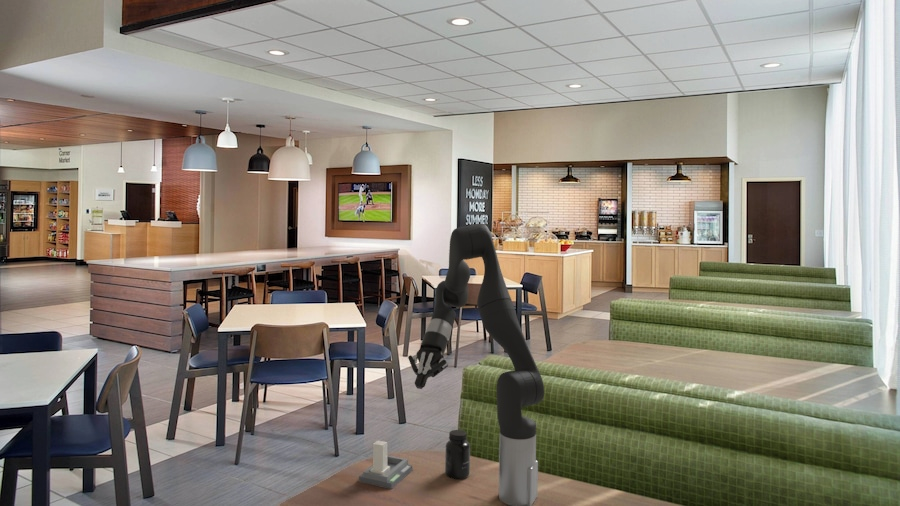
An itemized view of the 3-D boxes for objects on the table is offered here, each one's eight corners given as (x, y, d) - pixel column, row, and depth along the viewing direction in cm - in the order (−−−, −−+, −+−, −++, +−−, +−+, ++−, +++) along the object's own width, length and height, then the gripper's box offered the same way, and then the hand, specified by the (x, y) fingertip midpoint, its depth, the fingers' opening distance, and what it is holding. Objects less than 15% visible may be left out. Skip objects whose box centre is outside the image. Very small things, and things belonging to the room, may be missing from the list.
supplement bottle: (470, 480, 166) (470, 437, 164) (444, 480, 166) (445, 437, 165) (469, 469, 172) (470, 428, 171) (445, 468, 173) (445, 427, 171)
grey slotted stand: (412, 470, 171) (412, 460, 171) (391, 489, 160) (391, 478, 160) (381, 464, 175) (381, 454, 175) (358, 481, 164) (358, 471, 164)
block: (390, 472, 166) (390, 441, 165) (382, 478, 162) (382, 446, 161) (378, 470, 167) (377, 439, 167) (370, 476, 164) (370, 444, 163)
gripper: (413, 328, 186) (394, 378, 176) (453, 332, 181) (435, 383, 171) (421, 341, 192) (402, 390, 181) (459, 346, 186) (443, 396, 176)
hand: (418, 387), depth 176 cm, fingers closed
